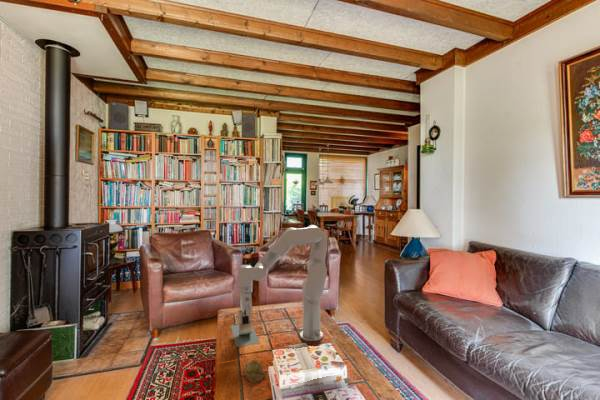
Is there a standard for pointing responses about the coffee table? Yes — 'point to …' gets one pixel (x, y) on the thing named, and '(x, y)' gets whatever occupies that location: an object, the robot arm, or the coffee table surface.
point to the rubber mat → (244, 337)
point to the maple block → (244, 327)
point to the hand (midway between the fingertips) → (245, 323)
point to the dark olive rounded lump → (254, 371)
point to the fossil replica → (298, 345)
